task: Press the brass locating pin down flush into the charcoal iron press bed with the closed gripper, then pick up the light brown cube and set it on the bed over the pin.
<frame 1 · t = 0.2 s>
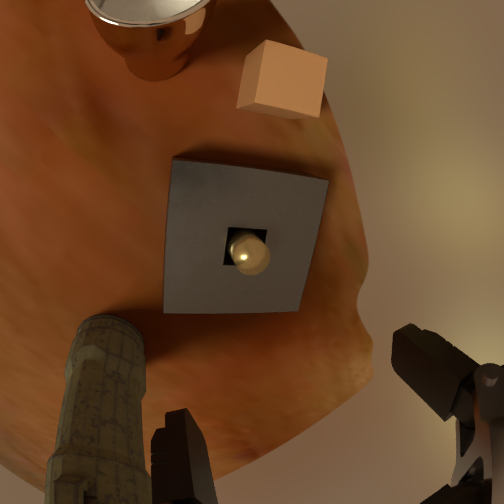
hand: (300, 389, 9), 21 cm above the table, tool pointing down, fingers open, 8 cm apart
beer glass: (157, 52, 21), on the table
green stone statue: (109, 342, 31), on the table
press bed: (234, 232, 30), on the table
light brown cube: (268, 87, 25), on the table
pin: (247, 250, 26), point 5 cm above the table, slide at 0.0 cm
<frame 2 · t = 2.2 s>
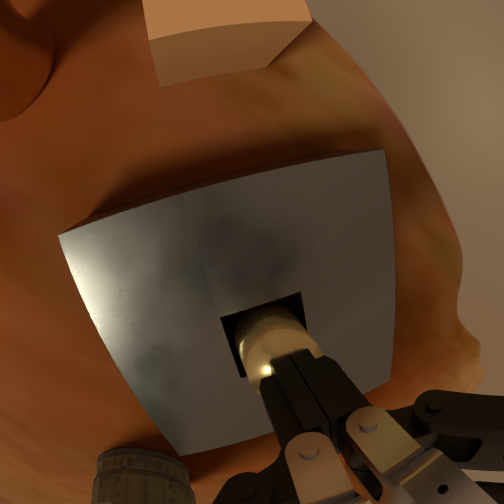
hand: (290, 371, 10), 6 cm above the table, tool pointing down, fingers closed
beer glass: (14, 72, 9), on the table
green stone statue: (142, 470, 19), on the table
press bed: (249, 300, 16), on the table
light brown cube: (203, 32, 12), on the table
pin: (274, 346, 12), point 5 cm above the table, slide at 0.1 cm, touching gripper
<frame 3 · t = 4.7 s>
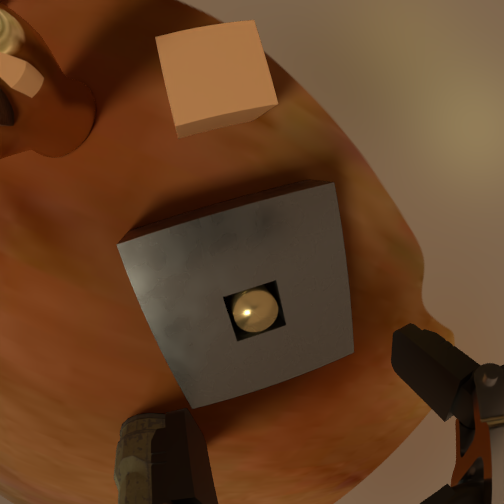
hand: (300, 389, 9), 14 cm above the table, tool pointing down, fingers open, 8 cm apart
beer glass: (61, 118, 16), on the table
green stone statue: (158, 436, 26), on the table
press bed: (244, 289, 23), on the table
light brown cube: (207, 94, 18), on the table
pin: (250, 301, 21), point 2 cm above the table, slide at 2.4 cm
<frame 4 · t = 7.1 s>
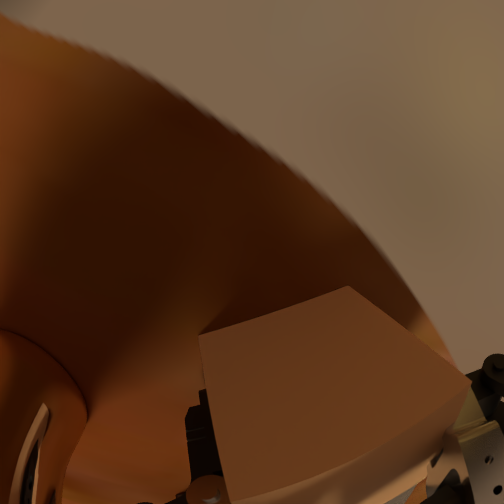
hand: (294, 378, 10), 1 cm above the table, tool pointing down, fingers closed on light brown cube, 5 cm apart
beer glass: (26, 386, 8), on the table
light brown cube: (289, 369, 11), on the table, touching gripper
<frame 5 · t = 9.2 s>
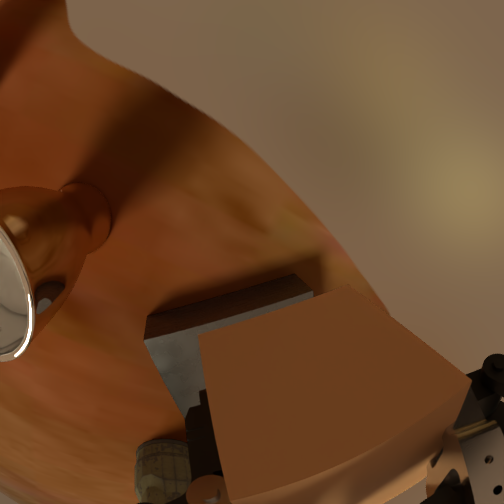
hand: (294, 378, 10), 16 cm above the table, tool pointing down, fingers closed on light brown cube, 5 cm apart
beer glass: (79, 218, 21), on the table
green stone statue: (167, 454, 31), on the table
press bed: (238, 355, 28), on the table
light brown cube: (289, 368, 11), point 15 cm above the table, touching gripper
when the fingers open (6 cm above the table, at t = 11.5 s): light brown cube drops 1 cm, resting on press bed.
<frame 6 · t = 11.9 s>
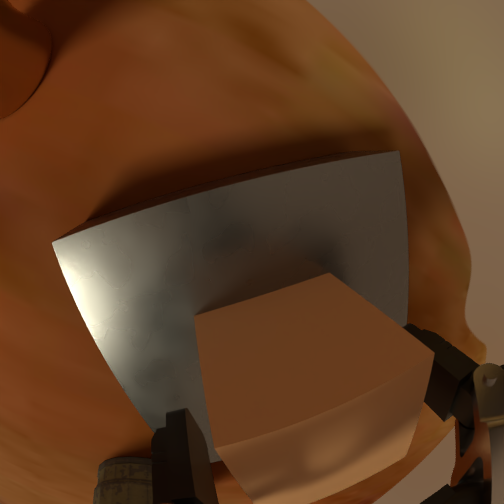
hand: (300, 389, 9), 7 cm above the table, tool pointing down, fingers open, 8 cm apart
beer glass: (9, 69, 9), on the table
green stone statue: (144, 478, 18), on the table
press bed: (255, 308, 16), on the table
light brown cube: (277, 349, 12), point 4 cm above the table, touching press bed
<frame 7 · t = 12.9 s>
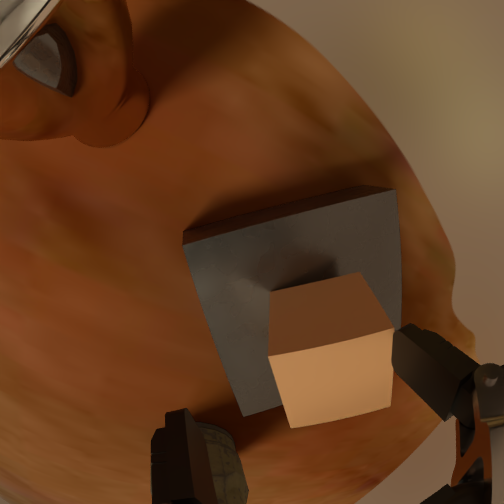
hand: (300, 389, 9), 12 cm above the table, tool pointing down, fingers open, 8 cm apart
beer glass: (107, 105, 16), on the table
green stone statue: (193, 445, 25), on the table
press bed: (298, 293, 22), on the table
light brown cube: (322, 319, 18), point 5 cm above the table, tilted 17°, touching press bed
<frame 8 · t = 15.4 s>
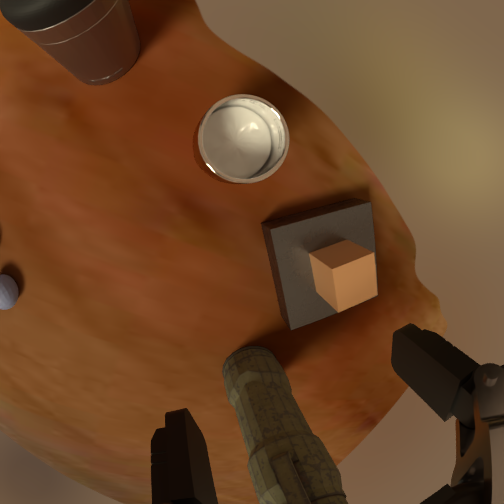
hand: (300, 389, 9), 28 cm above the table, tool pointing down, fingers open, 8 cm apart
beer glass: (218, 151, 33), on the table
green stone statue: (249, 367, 43), on the table
press bed: (319, 258, 40), on the table
light brown cube: (331, 265, 36), point 4 cm above the table, touching press bed
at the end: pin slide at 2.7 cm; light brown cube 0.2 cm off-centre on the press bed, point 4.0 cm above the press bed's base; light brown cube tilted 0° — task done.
